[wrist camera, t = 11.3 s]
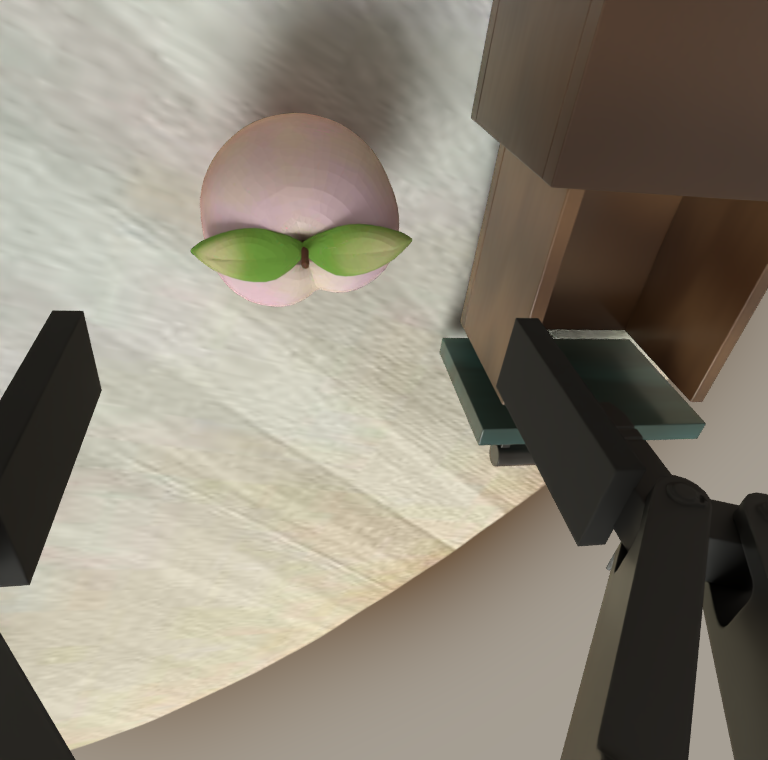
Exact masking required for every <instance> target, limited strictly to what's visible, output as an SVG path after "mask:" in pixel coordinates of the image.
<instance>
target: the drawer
mask: <svg viewBox="0 0 768 760" xmlns="http://www.w3.org/2000/svg"><path fill="white" fill-rule="evenodd" d="M767 288H768V202H766V201H751V200H736V199H720V198H705V197H689V196H674V195H658V194H643V193H628V192H612V191H597V190H581V189H566V188H551V187H550V186H549V185H548V184H547V183H545V182H544V181H543V180H542V179H541V178H540V177H539V176H538V175H536V174H535V173H534V172H533V171H532V170H531V169H529V168H528V167H527V166H526V165H525V164H524V163H523V162H521V161H520V160H519V159H518V158H517V157H516V156H514V155H513V154H512V153H511V152H510V151H509V150H508V149H506V148H505V147H504V146H503V145H502V144H501V143H500V147H499V151H498V156H497V160H496V165H495V169H494V174H493V178H492V183H491V187H490V191H489V196H488V200H487V205H486V209H485V214H484V218H483V223H482V227H481V231H480V236H479V240H478V245H477V249H476V254H475V258H474V263H473V267H472V272H471V276H470V280H469V285H468V289H467V294H466V298H465V303H464V307H463V312H462V316H461V320H460V323H461V325H462V327H463V328H464V330H465V332H466V334H467V336H468V338H443V339H442V344H441V349H440V355H441V357H442V359H443V362H444V364H445V367H446V369H447V371H448V374H449V376H450V378H451V381H452V383H453V386H454V388H455V390H456V393H457V395H458V398H459V400H460V402H461V405H462V407H463V410H464V412H465V414H466V417H467V419H468V421H469V424H470V426H471V429H472V431H473V433H474V436H475V438H476V441H477V443H478V445H491V446H490V460H491V463H492V465H493V466H520V465H536V464H535V462H534V460H533V458H532V456H531V454H530V452H529V450H528V448H527V446H526V444H525V442H524V440H523V438H522V437H521V435H520V433H519V431H518V429H517V427H516V425H515V423H514V421H513V419H512V417H511V415H510V413H509V411H508V409H507V407H506V405H505V403H504V401H503V400H502V398H501V396H500V394H499V392H498V390H497V388H496V384H497V381H498V377H499V374H500V371H501V367H502V364H503V360H504V357H505V353H506V350H507V346H508V343H509V340H510V336H511V333H512V329H513V326H514V322H515V319H516V318H538V319H539V320H540V321H541V323H542V324H543V326H544V327H545V328H546V329H565V330H625V331H626V332H627V333H628V334H629V335H630V336H631V337H632V339H633V340H634V341H635V342H636V343H637V344H638V345H639V346H640V347H641V348H642V349H643V351H644V352H645V353H646V354H647V355H648V356H649V357H650V358H651V359H652V360H653V361H654V362H655V364H656V365H657V366H658V367H659V368H660V369H661V370H662V371H663V372H664V373H665V374H666V376H667V377H668V378H669V379H670V380H671V381H672V382H673V383H674V384H675V385H676V386H677V387H678V388H679V390H680V391H681V392H682V393H683V394H684V395H685V396H686V397H687V398H688V399H689V400H690V401H691V402H702V401H703V400H704V398H705V396H706V395H707V393H708V391H709V389H710V388H711V386H712V384H713V382H714V381H715V379H716V377H717V375H718V374H719V372H720V370H721V368H722V367H723V365H724V363H725V361H726V360H727V358H728V356H729V355H730V353H731V351H732V349H733V347H734V346H735V344H736V343H737V341H738V339H739V337H740V336H741V334H742V332H743V330H744V328H745V327H746V325H747V323H748V322H749V320H750V318H751V316H752V315H753V313H754V311H755V310H756V308H757V306H758V304H759V303H760V301H761V299H762V297H763V296H764V294H765V292H766V290H767ZM554 341H555V342H556V344H557V345H558V346H559V348H560V349H561V351H562V352H563V353H564V355H565V356H566V357H567V359H568V360H569V362H570V363H571V364H572V366H573V367H574V369H575V370H576V371H577V373H578V374H579V376H580V377H581V378H582V380H583V381H584V383H585V384H586V385H587V387H588V388H589V389H590V391H591V392H592V394H593V395H594V396H595V398H596V399H597V401H598V402H611V403H612V404H613V405H615V406H616V407H617V408H619V409H620V410H621V411H623V412H624V413H625V414H626V415H627V417H628V418H629V419H630V421H631V422H632V423H633V424H634V426H635V429H637V430H638V431H639V432H640V434H641V435H642V436H643V440H667V439H697V438H698V436H699V435H700V433H701V431H702V430H703V428H704V426H705V422H704V421H703V420H702V419H701V418H700V417H699V415H697V413H696V412H695V411H694V410H693V409H692V408H691V407H690V406H689V405H688V403H687V402H686V401H685V400H684V399H683V398H682V397H681V396H680V395H679V394H678V392H677V391H676V390H675V389H674V388H673V387H672V386H671V385H670V384H669V383H668V381H667V380H666V379H665V378H664V377H663V376H662V375H661V374H660V373H659V372H658V370H657V369H656V368H655V367H654V366H653V365H652V364H651V363H650V362H649V361H648V359H647V358H646V357H645V356H644V355H643V354H642V353H641V352H640V351H639V350H638V348H637V347H636V346H635V345H634V344H633V343H632V342H631V341H630V340H629V339H554Z"/></svg>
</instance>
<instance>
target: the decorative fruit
mask: <svg viewBox="0 0 768 760" xmlns="http://www.w3.org/2000/svg"><path fill="white" fill-rule="evenodd" d="M200 210H201V221H202V228H203V235H204V240H203V241H201V242H199V243H198V244H197V245H196V246H195V247H193V248H192V249H191V253H192V254H193V255H195V256H196V257H197V258H198V259H199V260H200V261H201V262H203V263H204V264H205V265H207V266H208V267H210V268H211V269H213V270H215V271H217V272H218V273H219V275H220V277H221V278H222V279H223V280H224V282H225V283H226V284H227V285H228V286H229V287H230V288H231V289H232V290H233V291H234V292H235V293H236V294H238V295H240V296H242V297H243V298H245V299H247V300H248V301H251V302H254V303H258V304H261V305H267V306H288V305H293V304H295V303H298V302H300V301H302V300H304V299H305V298H307V297H309V296H310V295H311V294H312V293H313V292H314V291H316V290H318V289H321V290H326V291H329V292H337V293H339V292H349V291H353V290H356V289H359V288H361V287H363V286H365V285H367V284H368V283H370V282H371V281H373V280H374V279H376V278H377V277H378V276H379V275H380V274H381V273H382V272H383V271H384V270H385V269H386V267H387V265H388V264H389V262H390V261H392V260H393V259H395V258H396V257H397V256H398V255H399V254H400V253H401V252H402V251H403V250H404V249H405V248H406V247H407V246H408V245H409V244H410V243H411V242H412V238H410V237H409V236H407V235H406V234H404V233H401V232H399V214H398V207H397V203H396V199H395V195H394V192H393V189H392V187H391V184H390V182H389V179H388V177H387V175H386V172H385V170H384V168H383V166H382V164H381V162H380V161H379V159H378V158H377V156H376V155H375V153H374V152H373V151H372V149H371V148H370V147H369V146H368V145H367V144H366V143H365V142H364V141H363V140H362V139H361V138H360V137H359V136H358V135H356V134H355V133H354V132H352V131H351V130H350V129H348V128H346V127H345V126H343V125H341V124H339V123H337V122H335V121H333V120H330V119H327V118H324V117H320V116H317V115H312V114H307V113H287V114H279V115H274V116H270V117H266V118H263V119H260V120H258V121H255V122H253V123H251V124H249V125H247V126H246V127H244V128H243V129H241V130H240V131H238V132H237V133H236V134H235V135H234V136H232V137H231V138H230V139H229V140H228V141H227V142H226V143H225V144H224V145H223V147H222V148H221V149H220V150H219V151H218V153H217V154H216V156H215V157H214V159H213V160H212V162H211V164H210V166H209V168H208V170H207V173H206V175H205V178H204V181H203V185H202V190H201V197H200Z"/></svg>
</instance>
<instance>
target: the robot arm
mask: <svg viewBox="0 0 768 760" xmlns="http://www.w3.org/2000/svg"><path fill="white" fill-rule="evenodd" d="M496 388H497V390H498V392H499V394H500V396H501V398H502V400H503V401H504V403H505V405H506V407H507V409H508V411H509V413H510V415H511V417H512V419H513V421H514V423H515V425H516V427H517V429H518V431H519V433H520V435H521V437H522V438H523V440H524V442H525V444H526V446H527V448H528V450H529V452H530V454H531V456H532V458H533V460H534V462H535V464H536V466H537V468H538V470H539V472H540V474H541V476H542V477H543V479H544V481H545V483H546V485H547V487H548V489H549V491H550V493H551V495H552V497H553V499H554V501H555V503H556V505H557V507H558V509H559V510H560V512H561V514H562V516H563V518H564V520H565V522H566V524H567V526H568V528H569V530H570V532H571V534H572V536H573V538H574V540H575V542H576V544H577V545H578V546H589V545H602V544H606V542H607V540H608V538H609V536H610V534H611V533H612V531H613V529H614V530H615V532H616V533H617V535H618V537H619V539H620V540H621V543H620V544H619V546H618V548H617V550H616V551H615V553H614V555H613V557H612V558H611V560H610V562H609V564H608V565H607V567H606V569H607V570H611V571H610V575H609V579H608V583H607V586H606V590H605V594H604V598H603V602H602V605H601V609H600V613H599V617H598V621H597V624H596V628H595V632H594V635H593V639H592V643H591V647H590V650H589V654H588V658H587V662H586V665H585V669H584V673H583V677H582V680H581V684H580V688H579V692H578V695H577V699H576V703H575V707H574V711H573V714H572V718H571V722H570V726H569V729H568V733H567V737H566V741H565V745H564V748H563V752H562V756H561V759H560V760H688V755H689V744H690V734H691V724H692V713H693V703H694V692H695V682H696V671H697V661H698V650H699V640H700V628H701V619H702V609H703V610H704V615H705V620H706V625H707V630H708V634H709V639H710V644H711V649H712V653H713V658H714V663H715V668H716V673H717V678H718V683H719V688H720V693H721V697H722V702H723V707H724V712H725V717H726V721H727V726H728V731H729V736H730V741H731V745H732V751H733V755H734V760H768V495H767V494H762V493H752V494H748V495H747V496H746V497H745V498H744V500H743V501H742V503H741V504H740V505H734V504H730V503H725V502H721V501H716V500H711V499H710V498H709V497H708V495H707V494H706V492H705V491H704V490H702V489H701V488H700V487H699V486H698V485H697V484H694V483H693V482H691V481H689V480H687V479H686V478H682V477H678V476H675V475H671V473H670V472H669V471H668V470H667V468H666V467H665V465H664V464H663V463H662V462H661V460H660V459H659V457H658V456H657V455H656V454H655V452H654V451H653V450H652V448H651V447H650V446H649V444H648V443H647V442H646V440H643V436H642V435H641V434H640V432H639V431H638V430H637V429H635V426H634V424H633V423H632V422H631V421H630V419H629V418H628V417H627V415H626V414H625V413H624V412H623V411H621V410H620V409H619V408H617V407H616V406H615V405H613V404H612V403H611V402H598V401H597V399H596V398H595V396H594V395H593V394H592V392H591V391H590V389H589V388H588V387H587V385H586V384H585V383H584V381H583V380H582V378H581V377H580V376H579V374H578V373H577V371H576V370H575V369H574V367H573V366H572V364H571V363H570V362H569V360H568V359H567V357H566V356H565V355H564V353H563V352H562V351H561V349H560V348H559V346H558V345H557V344H556V342H555V341H554V339H553V338H552V337H551V335H550V334H549V332H548V331H547V330H546V328H545V327H544V326H543V324H542V323H541V321H540V320H539V319H538V318H516V319H515V322H514V326H513V329H512V333H511V336H510V340H509V343H508V346H507V350H506V353H505V357H504V360H503V364H502V367H501V371H500V374H499V377H498V381H497V384H496ZM101 391H102V390H101V386H100V381H99V377H98V373H97V368H96V364H95V360H94V355H93V351H92V347H91V343H90V338H89V334H88V330H87V325H86V321H85V317H84V312H83V311H52V312H51V314H50V316H49V317H48V319H47V321H46V323H45V324H44V326H43V328H42V329H41V331H40V333H39V335H38V336H37V338H36V340H35V341H34V343H33V345H32V347H31V348H30V350H29V352H28V353H27V355H26V357H25V359H24V360H23V362H22V364H21V365H20V367H19V369H18V371H17V372H16V374H15V376H14V377H13V379H12V381H11V383H10V384H9V386H8V388H7V390H6V391H5V393H4V395H3V396H2V398H1V400H0V587H8V586H22V585H30V583H31V580H32V577H33V574H34V572H35V569H36V566H37V564H38V561H39V558H40V556H41V553H42V550H43V547H44V545H45V542H46V539H47V537H48V534H49V531H50V529H51V526H52V523H53V520H54V518H55V515H56V512H57V510H58V507H59V504H60V501H61V499H62V496H63V493H64V491H65V488H66V485H67V483H68V480H69V477H70V474H71V472H72V469H73V466H74V464H75V461H76V458H77V455H78V453H79V450H80V447H81V445H82V442H83V439H84V437H85V434H86V431H87V428H88V426H89V423H90V420H91V418H92V415H93V412H94V410H95V407H96V404H97V401H98V399H99V396H100V393H101ZM0 760H75V758H74V756H73V755H72V753H71V751H70V750H69V748H68V746H67V745H66V743H65V741H64V740H63V738H62V736H61V735H60V733H59V731H58V729H57V728H56V726H55V724H54V723H53V721H52V719H51V718H50V716H49V714H48V713H47V711H46V709H45V708H44V706H43V704H42V702H41V701H40V699H39V697H38V696H37V694H36V692H35V691H34V689H33V687H32V686H31V684H30V682H29V680H28V679H27V677H26V675H25V674H24V672H23V670H22V669H21V667H20V665H19V664H18V662H17V660H16V659H15V657H14V655H13V653H12V652H11V650H10V648H9V647H8V645H7V643H6V642H5V640H4V638H3V637H2V635H1V633H0Z"/></svg>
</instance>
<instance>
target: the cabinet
mask: <svg viewBox="0 0 768 760" xmlns="http://www.w3.org/2000/svg"><path fill="white" fill-rule="evenodd" d="M471 118H472V119H473V120H474V121H475V122H476V123H477V124H479V125H480V126H481V127H482V128H483V129H484V130H486V131H487V132H488V133H489V134H490V135H491V136H492V137H494V138H495V139H496V140H497V141H498V142H499V143H501V144H502V145H503V146H504V147H505V148H506V149H508V150H509V151H510V152H511V153H512V154H513V155H514V156H516V157H517V158H518V159H519V160H520V161H521V162H523V163H524V164H525V165H526V166H527V167H528V168H529V169H531V170H532V171H533V172H534V173H535V174H536V175H538V176H539V177H540V178H541V179H542V180H543V181H544V182H545V183H547V184H548V185H549V186H550V187H551V188H566V189H581V190H597V191H612V192H628V193H643V194H658V195H674V196H689V197H705V198H720V199H736V200H751V201H766V202H768V0H493V5H492V10H491V15H490V20H489V26H488V31H487V36H486V41H485V47H484V52H483V57H482V62H481V68H480V73H479V78H478V83H477V89H476V94H475V99H474V104H473V110H472V115H471Z"/></svg>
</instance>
